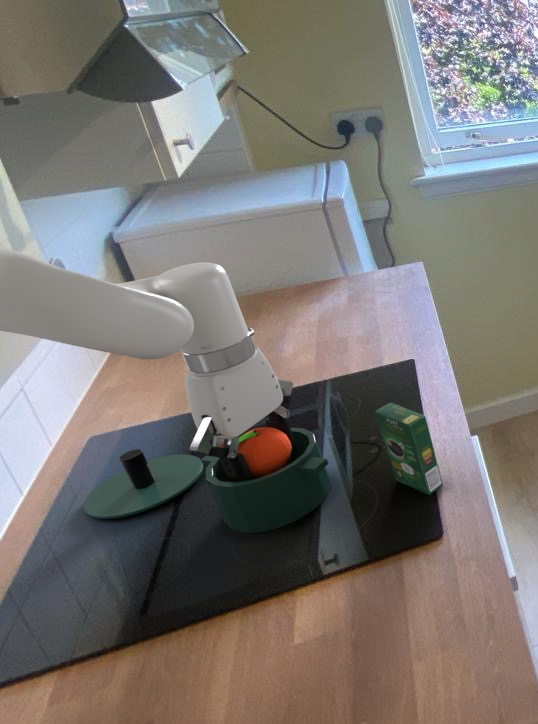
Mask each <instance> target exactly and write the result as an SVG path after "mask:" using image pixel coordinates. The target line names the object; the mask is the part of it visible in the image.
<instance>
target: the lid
mask: <svg viewBox="0 0 538 724" xmlns="http://www.w3.org/2000/svg"><path fill="white" fill-rule="evenodd" d="M119 461H120V462H121V465H122V467H123V470H121V471H119V472H117V473H115V474H113V475H112V476H110V477H108V478H107V479H105V480H104V481H102V482H101V483H100V484H98V485H97V486H96V487H95V488H93V490H91V491H90V492H89V494H88V495H87V496H86V498H85V500H84V502H83V510H84V512H85V513H86V514H87V515H88V516H89V517H90V518H94V519H97V520H98V519H99V520H112V519H120V518H124V517H125V518H126V517H129V516H134V515H137V514H140V513H143V512H146V511H148V510H151V509H154V508H156V507H158V506H160V505H163V504H165V503H167V502H169V501H171V500H172V499H174V498H176V497H177V496H179V495H181V494H182V493H184V492H185V491H186V490H188V489H189V488H191V486H193V485H194V484H195V483H196V482H197V481H198V479H199V478H200V477H201V476H202V473H203V470H204V465H203V464H202V462H201V459H200V458H199V457H198V456H195V455H192V454H184V453H183V454H181V453H180V454H169V455H165V456H164V455H163V456H160V457H156V458H152V459H148V460H147V458H146V456H145V454H144V452H143V450H142V449H139V448H136V449H131V450H128V451H126V452H124V453H123V454H122V455H120V456H119Z"/></svg>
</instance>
